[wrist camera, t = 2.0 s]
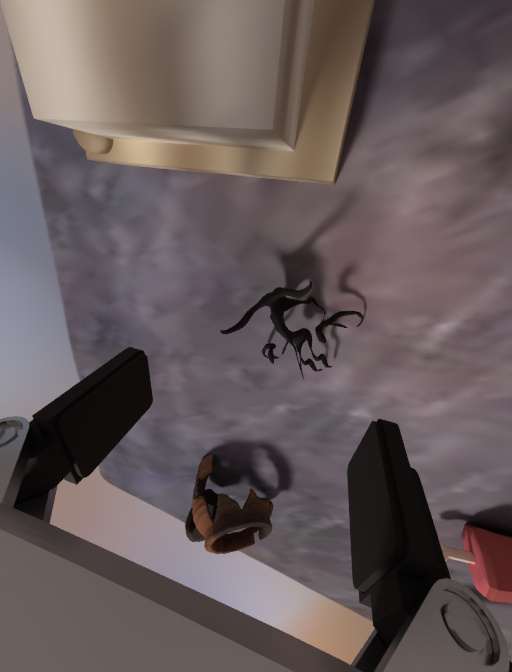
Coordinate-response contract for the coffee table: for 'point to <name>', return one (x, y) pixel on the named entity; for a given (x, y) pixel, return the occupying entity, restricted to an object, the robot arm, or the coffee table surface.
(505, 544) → the meat
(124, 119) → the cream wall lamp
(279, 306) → the creature
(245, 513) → the pottery mug
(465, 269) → the coffee table surface
